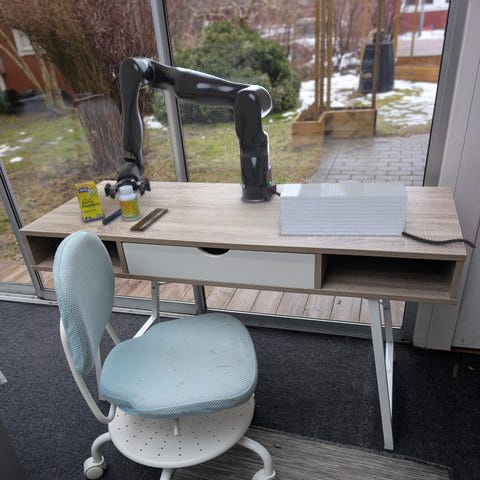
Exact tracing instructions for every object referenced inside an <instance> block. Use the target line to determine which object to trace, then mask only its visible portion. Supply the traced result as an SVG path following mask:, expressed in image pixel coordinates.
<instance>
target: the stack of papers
mask: <svg viewBox="0 0 480 480" xmlns="http://www.w3.org/2000/svg"><path fill="white" fill-rule="evenodd" d="M280 194H281V195H280V197H279V218H280V220H279V221H280V223H279V224H280V235H281V236H396V237H397V236H403V237H404V235H402V234H401V233H402V232H405V231H404V228H405V221H406V213H407V206H408V198H409V195H408V192H407V188H406V186H405V183H404V182H403V181H401V182H399V181H398V182H394V181H393V182H389V181H388V182H336V183H335V182H333V183H332V182H327V183H326V182H323V183H322V182H319V183H316V182H315V183H314V182H313V183H283V185H282V189H281V191H280Z"/></svg>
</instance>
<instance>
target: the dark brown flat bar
mask: <svg viewBox="0 0 480 480" xmlns="http://www.w3.org/2000/svg"><path fill="white" fill-rule="evenodd" d="M168 212H169V209H168V208H165V207H164V208H163V207H162V208H160V207H156V208H155V209H154V210H152V211H151V212H150V213H148V214H147V215H146V216H145V217H143V218H142V219H140V220H139V221H137V222H136V223H134V224H133V225H132V226H131V227H130V231H131V232H142V233H143V232H145V230H146V229H148V228H149V227H150V226H151V225H153V224H154V223H156V221H158V220H159V219H160V218H162V217H163V216H164V215H165V214H166V213H168Z"/></svg>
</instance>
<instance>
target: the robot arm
mask: <svg viewBox="0 0 480 480" xmlns="http://www.w3.org/2000/svg"><path fill="white" fill-rule="evenodd" d="M118 73H119V74H118V75H119V87H120V99H121V109H122V133H121V148H122V149H123V151H125V152H127V153H130V154H132V155H134V156H128V155H120V156H118V157H117V158H116V160H115V163H114V164H115V165H114V167H115V172H116V174H117V177H116V182H115V184H111V183H110V182H107V183H106V184H105V186H104V188H103V190H104V195H105V197H109V198H110V199H112V200H116V197H117V196H119V195H120V194H121V193H120V191H119V188H120V187H122V186H132V188H133V193H135V194H139V195H140V197H143V196H144V195H146V192H149V193H150V192H152V188H151V182H150V179H149V178H145V179H144V180H143V181H141V180H142V179H141V178H143V176H144V175H145V173H146V165H145V159H144V154H143V140H144V124H143V120H142V117H141V113H140V111H139V105H138V104H139V101H138V99H139V93H140V89H158V90H162V91H167V92H168V93H170V94H171V95H173V96H174V97H175V98H177V99H179V100H181V101H183V102H185V103H189V104H192V105H196V106H201V107H219V108H220V107H222V108H223V107H225V108H231V109H232V113H233V121H234V122H233V123H234V131H235V135H236V139H237V141H238V151H239V167H240V180H241V182H240V187H241V195H242V196H241V199H242V201H245V202H247V203H263V202H268V201H269V200H270V199H271V198H272V196H277V197H279V198H280V195H281V192H278V191H277V183H273V179H272V178H273V176H272V174H273V173H272V166H270V146H269V134H268V132H266V131H264V128H263V127H264V126H263V118H264V117H265V116H266V115H267V114H269V113H270V111H271V110H272V107H273V99H272V96H271V94H270V93H269V91H268V90H267V89H265V87H263V86H260V85H256V84H248V83H246V84H245V83H239V82H234V81H229V80H226V79H225V78H224V79H223V78H221V77H218V76H215V75H211V74H207V73H205V72H202V71H196V70H192V69H188V68H184V67H178V66H177V67H176V66H170V65H166V64H164V63H161V62H158V61H156V60H153V59H151V58H148V57H145V56H131V57H130V56H129V57H126V58H124V59H123V60H122V61H121V62H120V65H119V71H118ZM401 234H402V235H403V237H407V238H410V239H412V240H415V241H417V242H421V243H426V244H430V245H447V244H448V245H449V244H454V243H455V244H456V243H461V244H466V245H468V246H469V247H470V248H472V249H476V248H477V246H476V245H475V244H474V243H473V242H472V241H470V240H469V239H465V238H453V239H445V240H432V239H428V238H425V237H424V238H423V237H420V236H418V235H417V236H416V235H414V234H411V233H409V232H406V231H403V232H402V233H401ZM463 242H464V243H463ZM458 367H459V363H455V364H454V367H453V371H452V377H453V378H456V377H457V373H458Z"/></svg>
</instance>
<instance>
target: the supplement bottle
mask: <svg viewBox="0 0 480 480" xmlns="http://www.w3.org/2000/svg"><path fill="white" fill-rule="evenodd" d="M119 191H120V193H121V194H120V195H118V202H119V206H120V208H121V211H122V214H121V215H122V219H123V220H124V221H128V222H129V221H137V220H138V219H139V218H140V217H141V213H140V208H139V202H138V197H137V193H133V188H132V186H122V187H120V188H119Z"/></svg>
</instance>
